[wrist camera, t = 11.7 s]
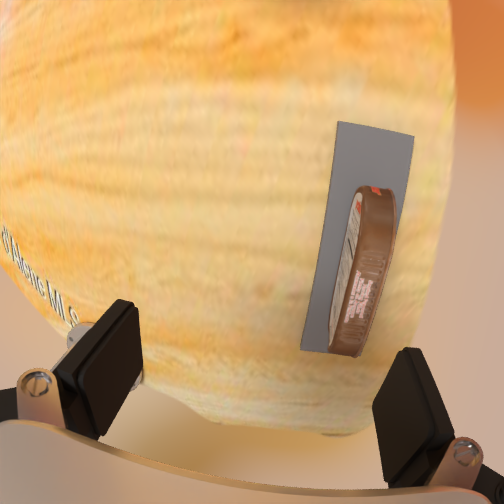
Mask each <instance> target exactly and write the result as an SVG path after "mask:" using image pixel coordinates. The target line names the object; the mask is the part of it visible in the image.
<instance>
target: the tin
mask: <svg viewBox="0 0 504 504" xmlns="http://www.w3.org/2000/svg"><path fill="white" fill-rule="evenodd" d="M396 225H397V207H396V200H395V196H394V193H393V191H392V190H391V189H390V188H386V189H383V188H378V187H373V186H366V185H364V186H360V187H359V188H357V190H356V192H355V194H354V197H353V200H352V204H351V208H350V212H349V217H348V222H347V228H346V232H345V237H344V242H343V247H342V251H341V256H340V261H339V265H338V270H337V275H336V280H335V285H334V290H333V295H332V300H331V306H330V313H329V320H328V331H329V345H328V348H327V350H328V352H330V353H333V354H338V355H345V356H351V357H353V358H356V357H357V356H358V355H359V354H360V353H361V351H362V349H363V347H364V345H365V342H366V340H367V337H368V334H369V331H370V328H371V325H372V322H373V319H374V316H375V313H376V310H377V306H378V303H379V300H380V297H381V294H382V290H383V287H384V284H385V280H386V276H387V273H388V270H389V266H390V263H391V259H392V255H393V250H394V244H395V237H396Z"/></svg>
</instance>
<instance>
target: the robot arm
mask: <svg viewBox="0 0 504 504" xmlns="http://www.w3.org/2000/svg"><path fill="white" fill-rule="evenodd" d="M67 346H68V350H67V352H66V353H65V354H64V355H63V356H62V357H61V359H60V360H59V361H58V362H57V363H56V364H55V365H54V367H53V368H52V369H51V370H50V371H49V370H47V369H43V368H34V369H30V370H28V371H26V372H24V373H23V374H22V375H21V376H20V377H19V379H18V381H17V387H15V388H10V389H4V390H0V504H504V477H503V476H501V475H500V474H498V473H497V472H495V471H493V470H492V469H490V468H489V467H487V466H485V465H484V464H482V462H483V451H482V449H481V447H480V446H479V444H478V443H477V442H475V441H474V440H473V439H470V438H468V437H459V438H455V435H454V429H453V426H452V424H451V421H450V418H449V416H448V413H447V410H446V408H445V405H444V403H443V400H442V398H441V395H440V393H439V390H438V388H437V386H436V383H435V381H434V378H433V376H432V374H431V371H430V369H429V367H428V365H427V362H426V360H425V358H424V356H423V354H422V351H421V350H420V349H419V348H411V347H405V348H404V349H403V350H402V351H399V352H398V353H397V355H396V358H395V360H394V362H393V364H392V366H391V368H390V370H389V372H388V374H387V376H386V378H385V380H384V382H383V384H382V386H381V388H380V390H379V392H378V393H377V395H376V397H375V399H374V401H373V405H372V411H373V416H374V422H375V427H376V433H377V438H378V445H379V451H380V457H381V464H382V470H383V477H384V481H385V482H388V487H389V489H363V490H335V489H311V488H297V487H285V486H275V485H267V484H259V483H252V482H246V481H239V480H233V479H228V478H223V477H218V476H213V475H208V474H204V473H199V472H194V471H190V470H186V469H182V468H178V467H175V466H171V465H167V464H163V463H160V462H156V461H153V460H150V459H147V458H144V457H141V456H138V455H135V454H132V453H129V452H126V451H123V450H120V449H117V448H114V447H111V446H108V445H106V444H103V443H100V442H98V439H99V437H100V435H101V436H104V435H105V434H106V433H107V431H108V429H109V427H110V426H111V424H112V422H113V420H114V418H115V417H116V415H117V413H118V411H119V410H120V408H121V406H122V404H123V403H124V401H125V399H126V397H127V395H128V394H129V392H130V391H132V390H134V389H135V388H136V387H137V386H138V385H139V383H140V381H141V379H142V368H143V356H142V347H141V336H140V325H139V311H138V308H137V307H135V306H134V303H133V302H129V301H125V300H121V299H118V300H116V301H115V302H114V303H113V304H112V306H111V307H110V308H109V309H108V310H107V311H106V312H105V313H104V314H103V315H102V317H101V318H100V319H99V320H98V321H97V322H96V323H95V324H94V323H88V322H87V323H80V324H77V325H76V326H75V327H73V328H72V330H71V331H70V332H69V334H68V336H67Z"/></svg>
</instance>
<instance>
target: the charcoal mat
mask: <svg viewBox="0 0 504 504" xmlns="http://www.w3.org/2000/svg"><path fill="white" fill-rule="evenodd" d="M413 143H414V136H411V135H407V134H402V133H398V132H394V131H389V130H384V129H379V128H375V127H370V126H364V125H359V124H353V123H348V122H342V121H338V122H337V131H336V140H335V148H334V156H333V164H332V171H331V178H330V185H329V192H328V199H327V206H326V212H325V219H324V225H323V231H322V237H321V243H320V249H319V254H318V260H317V265H316V271H315V276H314V281H313V287H312V292H311V297H310V302H309V307H308V312H307V317H306V321H305V326H304V331H303V335H302V340H301V345H300V350H304V351H312V352H322V353H330V352H328V350H327V348H328V345H329V331H328V320H329V313H330V306H331V300H332V295H333V290H334V285H335V280H336V275H337V270H338V265H339V261H340V256H341V251H342V247H343V242H344V237H345V232H346V228H347V222H348V217H349V212H350V208H351V204H352V200H353V197H354V194H355V192H356V190H357V188H359V187H360V186H364V185H366V186H373V187H378V188H383V189H386V188H390V189H391V190H392V191H393V193H394V196H395V200H396V207H397V225H396V234H397V230H398V226H399V221H400V216H401V212H402V207H403V202H404V197H405V192H406V187H407V181H408V175H409V169H410V163H411V157H412V150H413ZM395 239H396V237H395ZM362 350H363V349H362ZM361 352H362V351H361ZM332 354H333V353H332ZM360 355H361V353H360V354H359V355H358V356H360Z"/></svg>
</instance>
